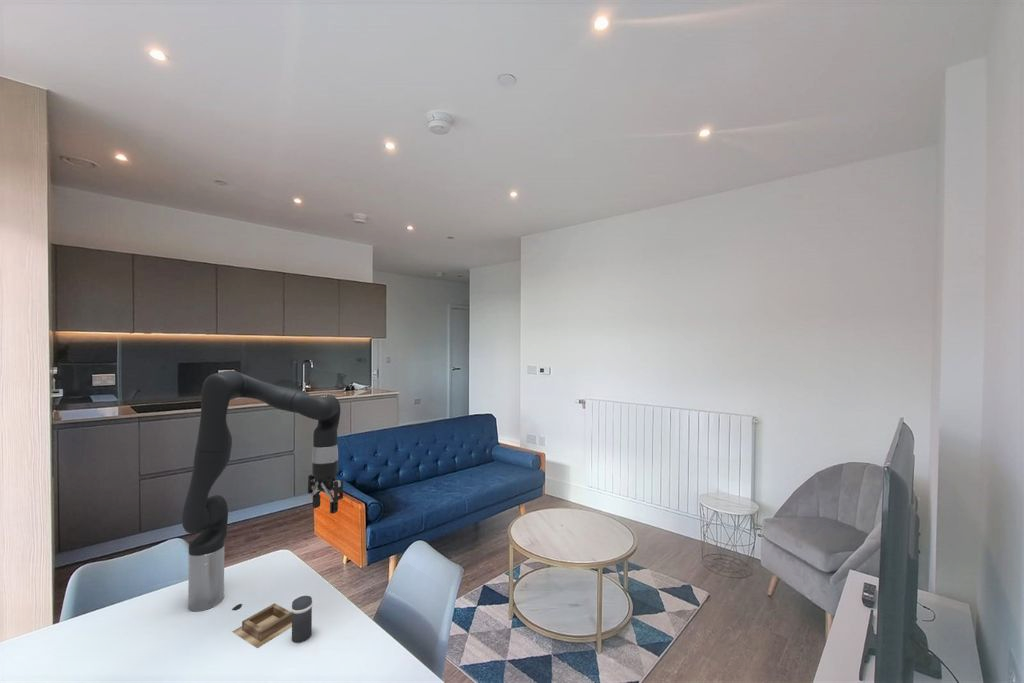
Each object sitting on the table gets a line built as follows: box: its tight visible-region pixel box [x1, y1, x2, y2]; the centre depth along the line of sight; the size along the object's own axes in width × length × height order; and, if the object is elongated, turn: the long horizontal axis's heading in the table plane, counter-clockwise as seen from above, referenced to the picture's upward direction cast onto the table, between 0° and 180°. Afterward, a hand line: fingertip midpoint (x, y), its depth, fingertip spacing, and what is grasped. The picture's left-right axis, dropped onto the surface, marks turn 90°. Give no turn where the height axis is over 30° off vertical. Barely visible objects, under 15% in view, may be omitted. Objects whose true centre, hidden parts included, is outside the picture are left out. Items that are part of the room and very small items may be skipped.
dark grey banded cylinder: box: [290, 595, 313, 644], centre depth 115 cm, size 5×5×10 cm
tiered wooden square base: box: [231, 603, 292, 649], centre depth 119 cm, size 13×13×3 cm
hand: (325, 510), depth 130 cm, fingers open, 8 cm apart
